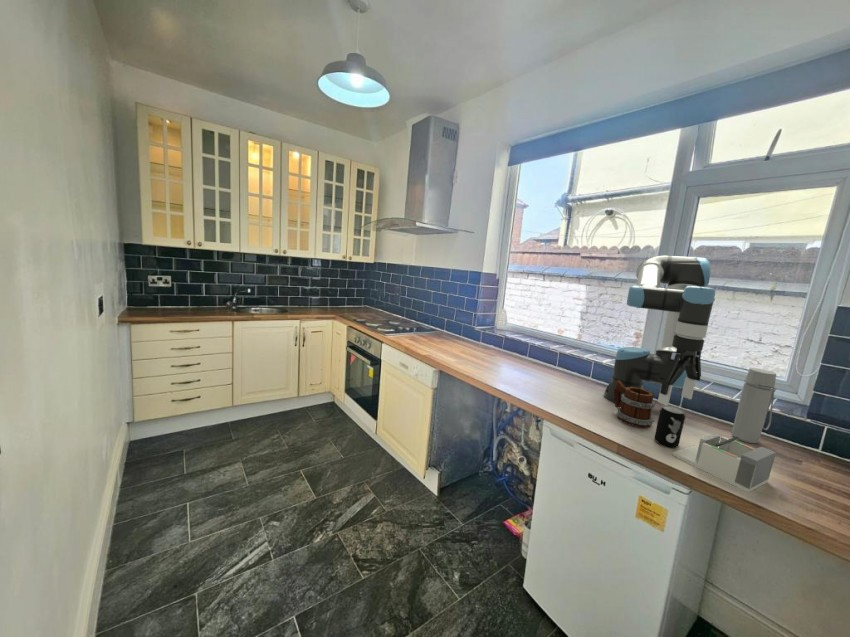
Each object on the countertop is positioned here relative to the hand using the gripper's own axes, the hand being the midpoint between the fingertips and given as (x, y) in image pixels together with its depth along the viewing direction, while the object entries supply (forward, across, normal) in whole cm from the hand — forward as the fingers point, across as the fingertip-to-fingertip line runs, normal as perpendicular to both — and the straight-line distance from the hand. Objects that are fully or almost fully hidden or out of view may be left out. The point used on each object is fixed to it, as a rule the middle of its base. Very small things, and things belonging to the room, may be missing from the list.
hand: (674, 400), depth 109 cm
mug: (+15, -5, -15) cm, 22 cm away
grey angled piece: (+13, +1, +14) cm, 20 cm away
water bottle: (+16, -33, +10) cm, 38 cm away
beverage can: (+15, +1, 0) cm, 15 cm away
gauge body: (+14, +1, +14) cm, 20 cm away
